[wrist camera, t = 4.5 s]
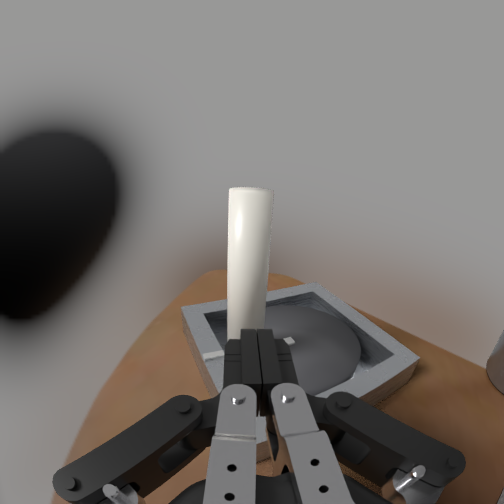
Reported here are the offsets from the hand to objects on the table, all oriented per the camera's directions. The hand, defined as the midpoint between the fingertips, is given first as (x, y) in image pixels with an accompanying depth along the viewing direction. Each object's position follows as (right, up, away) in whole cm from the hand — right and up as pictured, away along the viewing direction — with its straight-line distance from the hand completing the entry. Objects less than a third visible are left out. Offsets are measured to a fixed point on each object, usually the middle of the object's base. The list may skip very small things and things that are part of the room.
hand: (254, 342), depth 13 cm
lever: (+4, -7, +13) cm, 16 cm away
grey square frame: (+4, -7, +13) cm, 16 cm away
